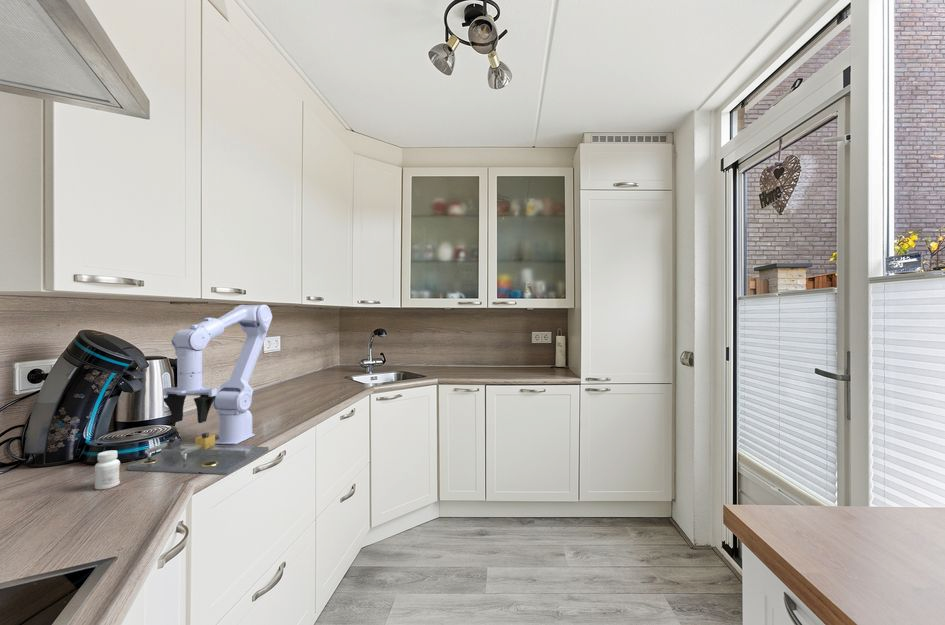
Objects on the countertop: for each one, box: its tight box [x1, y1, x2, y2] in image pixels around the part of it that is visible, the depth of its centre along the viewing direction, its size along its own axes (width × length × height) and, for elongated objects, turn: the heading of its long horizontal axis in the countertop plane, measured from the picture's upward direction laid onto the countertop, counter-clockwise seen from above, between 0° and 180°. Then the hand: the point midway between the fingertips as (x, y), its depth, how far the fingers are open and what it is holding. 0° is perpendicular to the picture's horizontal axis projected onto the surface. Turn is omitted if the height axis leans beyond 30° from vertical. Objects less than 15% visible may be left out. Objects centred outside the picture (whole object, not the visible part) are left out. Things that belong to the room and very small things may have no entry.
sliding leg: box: [181, 432, 216, 462], centre depth 110 cm, size 10×3×5 cm, turn 174°
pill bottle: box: [94, 450, 121, 490], centre depth 95 cm, size 4×4×8 cm
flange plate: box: [128, 443, 269, 475], centre depth 111 cm, size 17×27×1 cm, turn 84°
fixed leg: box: [144, 437, 182, 460], centre depth 111 cm, size 9×2×3 cm, turn 174°
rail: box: [160, 446, 250, 456], centre depth 113 cm, size 2×25×2 cm, turn 84°
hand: (190, 421), depth 113 cm, fingers open, 7 cm apart
